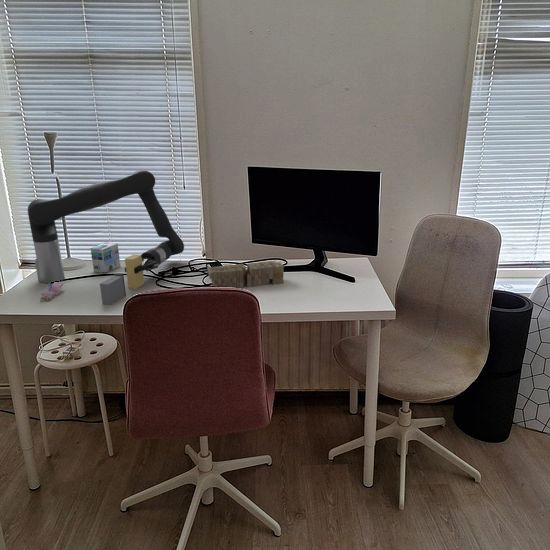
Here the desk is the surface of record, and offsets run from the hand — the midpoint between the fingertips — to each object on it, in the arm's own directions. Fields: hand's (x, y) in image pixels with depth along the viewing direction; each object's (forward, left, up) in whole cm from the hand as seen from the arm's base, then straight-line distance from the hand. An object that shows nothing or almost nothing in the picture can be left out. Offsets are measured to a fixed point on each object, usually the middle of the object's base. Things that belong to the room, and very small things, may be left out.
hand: (130, 270), depth 191 cm
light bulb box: (-19, +25, -8) cm, 32 cm away
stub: (+1, +3, -7) cm, 8 cm away
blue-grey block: (-3, -12, -7) cm, 14 cm away
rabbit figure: (-29, -6, -8) cm, 30 cm away
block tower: (+44, +5, -8) cm, 45 cm away
